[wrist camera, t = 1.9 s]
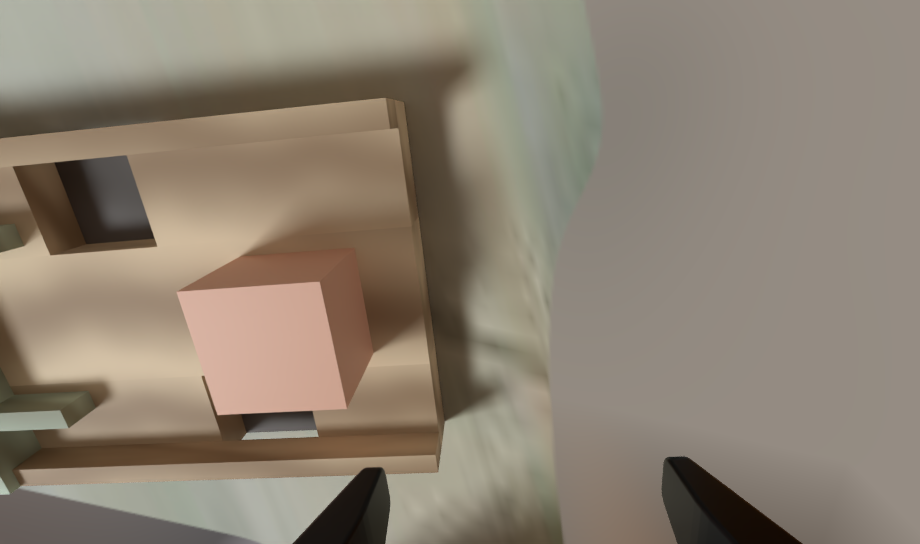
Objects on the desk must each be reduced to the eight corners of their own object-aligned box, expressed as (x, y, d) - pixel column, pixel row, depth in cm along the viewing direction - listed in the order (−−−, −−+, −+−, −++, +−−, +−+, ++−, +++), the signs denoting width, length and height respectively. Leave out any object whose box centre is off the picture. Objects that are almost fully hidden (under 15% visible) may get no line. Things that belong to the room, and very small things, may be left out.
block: (373, 353, 19) (347, 409, 16) (268, 359, 20) (217, 414, 16) (354, 247, 18) (319, 281, 14) (239, 256, 18) (176, 291, 14)
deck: (444, 421, 23) (436, 480, 19) (66, 437, 25) (-9, 494, 21) (404, 101, 18) (382, 97, 14) (-72, 151, 20) (-205, 158, 16)
